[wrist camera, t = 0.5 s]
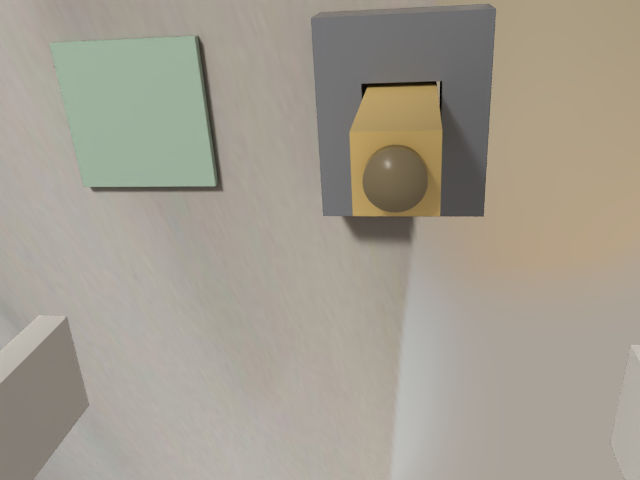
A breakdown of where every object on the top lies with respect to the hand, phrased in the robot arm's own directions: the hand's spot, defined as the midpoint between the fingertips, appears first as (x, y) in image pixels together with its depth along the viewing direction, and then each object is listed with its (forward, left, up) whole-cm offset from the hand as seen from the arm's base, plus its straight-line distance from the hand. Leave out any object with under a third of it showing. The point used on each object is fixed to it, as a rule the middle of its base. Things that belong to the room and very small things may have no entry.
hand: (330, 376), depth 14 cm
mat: (0, -17, -27) cm, 32 cm away
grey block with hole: (0, +1, -27) cm, 27 cm away
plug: (0, +1, -27) cm, 27 cm away
